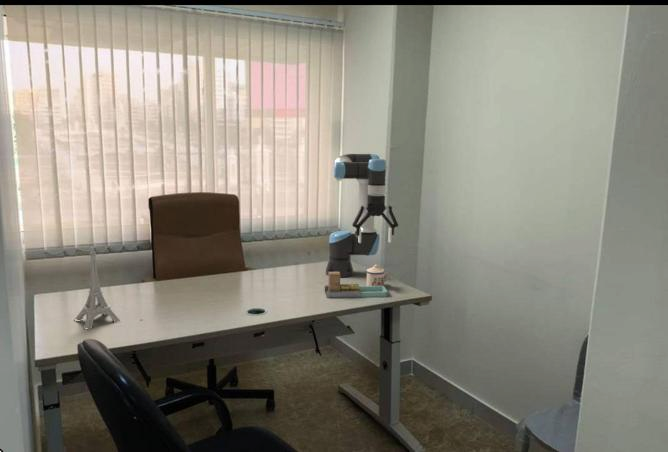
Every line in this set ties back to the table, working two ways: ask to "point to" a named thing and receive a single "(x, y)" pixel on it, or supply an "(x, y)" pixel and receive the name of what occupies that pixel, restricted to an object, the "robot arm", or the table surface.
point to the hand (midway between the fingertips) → (374, 242)
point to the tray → (373, 294)
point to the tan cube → (344, 287)
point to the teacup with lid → (376, 276)
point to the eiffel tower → (95, 292)
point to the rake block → (334, 281)
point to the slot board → (342, 294)
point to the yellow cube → (354, 287)
